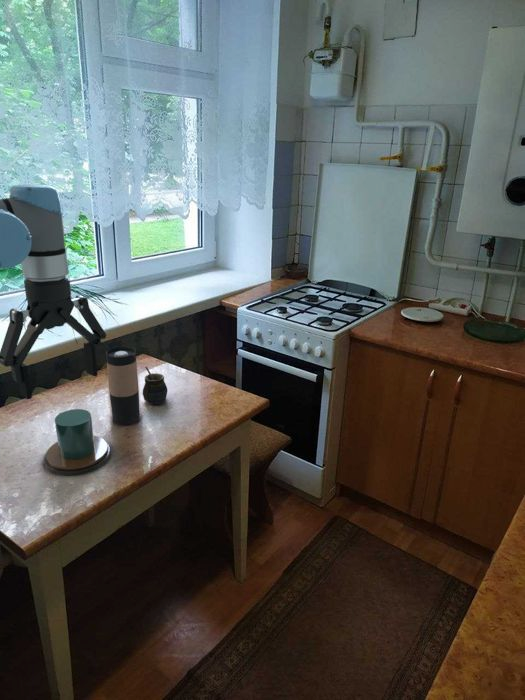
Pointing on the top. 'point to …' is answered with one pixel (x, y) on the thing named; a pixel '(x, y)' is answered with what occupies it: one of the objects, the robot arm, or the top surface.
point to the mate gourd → (154, 388)
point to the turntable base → (78, 471)
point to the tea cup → (75, 442)
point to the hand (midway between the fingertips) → (60, 384)
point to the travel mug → (123, 385)
